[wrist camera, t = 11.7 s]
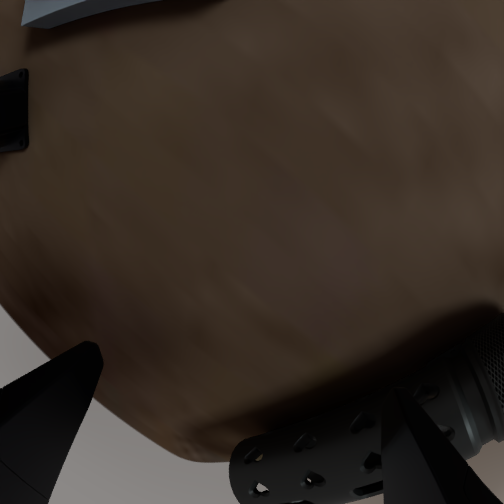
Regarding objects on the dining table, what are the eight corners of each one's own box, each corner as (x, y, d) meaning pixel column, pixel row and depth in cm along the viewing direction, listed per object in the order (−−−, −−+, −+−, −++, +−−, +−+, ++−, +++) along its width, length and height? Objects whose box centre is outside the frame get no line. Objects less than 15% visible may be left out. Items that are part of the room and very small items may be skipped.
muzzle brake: (236, 413, 28) (216, 503, 19) (507, 269, 18) (577, 356, 9) (290, 449, 31) (283, 526, 22) (520, 337, 20) (563, 415, 11)
